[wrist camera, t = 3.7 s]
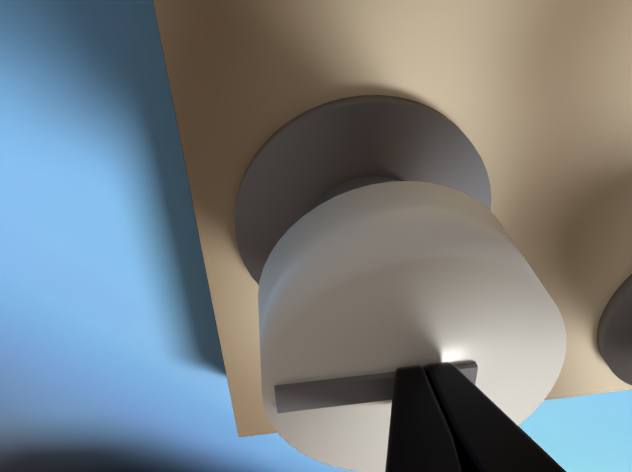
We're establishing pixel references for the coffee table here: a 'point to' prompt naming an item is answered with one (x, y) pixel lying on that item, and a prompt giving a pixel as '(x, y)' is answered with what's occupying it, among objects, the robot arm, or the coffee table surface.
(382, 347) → the knob
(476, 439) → the robot arm
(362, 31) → the panel
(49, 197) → the coffee table surface
